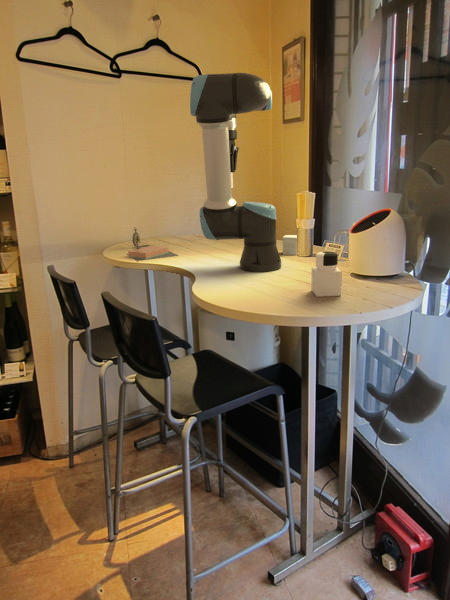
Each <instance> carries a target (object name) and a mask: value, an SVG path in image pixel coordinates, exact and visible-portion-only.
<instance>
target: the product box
mask: <svg viewBox="0 0 450 600" xmlns="http://www.w3.org/2000/svg"><path fill="white" fill-rule="evenodd" d="M297 235H298V234H285V235H284V236H282V256H298V255H297Z"/></svg>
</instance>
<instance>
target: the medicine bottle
mask: <svg viewBox="0 0 450 600" xmlns="http://www.w3.org/2000/svg"><path fill="white" fill-rule="evenodd" d="M338 256H339V255H338V253H336V252H335V251H330V250H329V251H327V250H325V251H319V252H317V253H316V254H315V266H313V267H311V288H310V289H311V292H312V293H313V294H314V295H315V297H316V298H317V297H318V298H319V297H337V296H338V297H341V296H342V285H343V283H342V281H343V280H342V279H343V271H341V269H339V268H338V265H339V264H338V260H339V259H338V258H339V257H338Z"/></svg>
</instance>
